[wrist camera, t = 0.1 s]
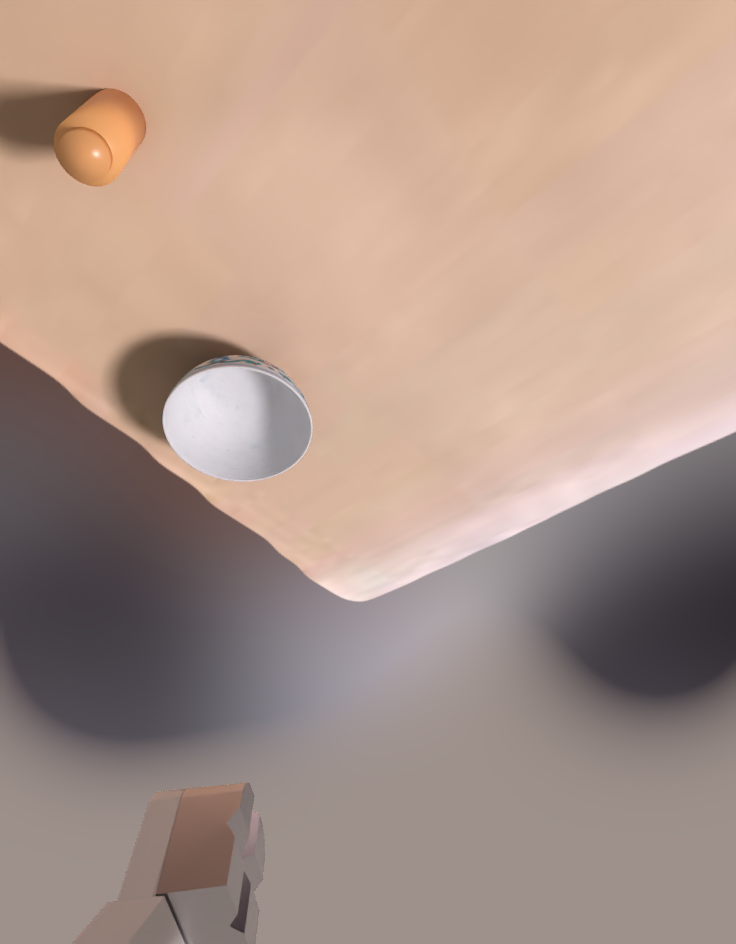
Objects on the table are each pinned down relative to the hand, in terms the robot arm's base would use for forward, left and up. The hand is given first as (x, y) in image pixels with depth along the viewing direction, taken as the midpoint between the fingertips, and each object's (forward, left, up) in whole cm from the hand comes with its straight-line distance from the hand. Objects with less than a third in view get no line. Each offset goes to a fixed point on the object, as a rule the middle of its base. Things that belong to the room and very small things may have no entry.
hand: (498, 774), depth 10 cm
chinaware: (+29, +6, -52) cm, 60 cm away
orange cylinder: (+11, -14, -52) cm, 55 cm away
